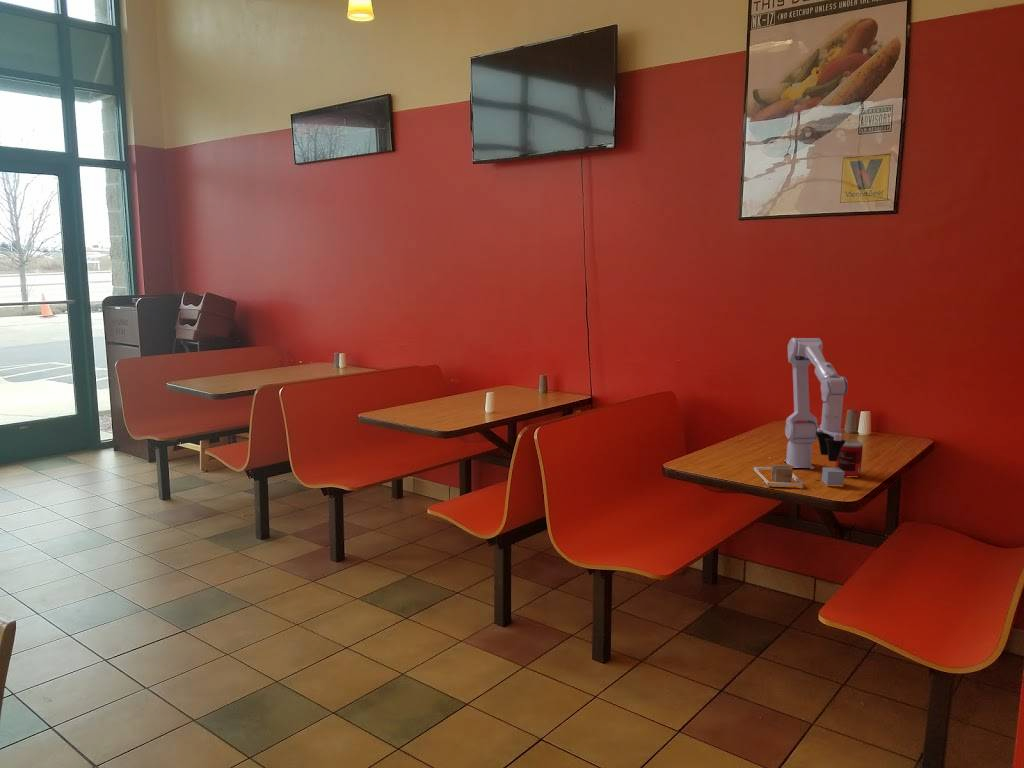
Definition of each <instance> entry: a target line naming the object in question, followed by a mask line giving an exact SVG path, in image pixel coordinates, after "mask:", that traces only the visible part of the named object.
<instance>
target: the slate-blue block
mask: <svg viewBox="0 0 1024 768" xmlns="http://www.w3.org/2000/svg"><path fill="white" fill-rule="evenodd" d="M822 481H823V482H824V483H825V484H826V485H843V486H844V485H845V484H844V483H845V477H844V471H842V470H841V469H840V468H836V467H825V466H823V467H822V473H821V482H822Z"/></svg>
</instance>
